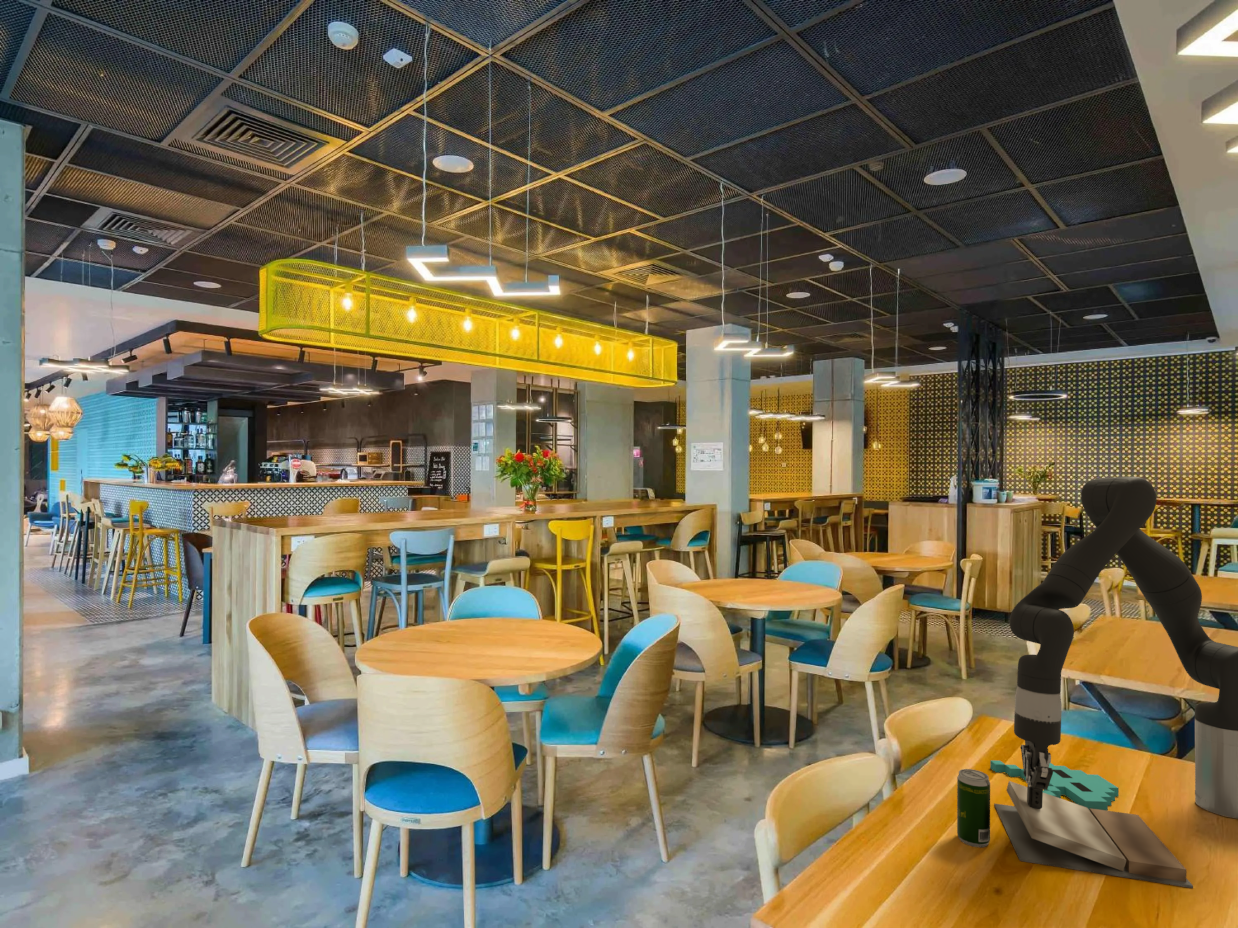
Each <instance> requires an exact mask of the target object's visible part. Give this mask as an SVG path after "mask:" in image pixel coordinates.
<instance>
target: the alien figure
mask: <svg viewBox="0 0 1238 928" xmlns="http://www.w3.org/2000/svg"><path fill="white" fill-rule="evenodd" d="M989 766H990V770H992V771H993V772H994V771H995V772H994V773H1002V772H1005V773H1004V774H1006V773H1007V774H1006V775H1008V776H1009V777H1010V778H1011V777H1013V778H1021V779H1023V780H1024V781H1025V782H1026V777H1025V776H1024V773H1023V772H1024V770H1023V768H1020V767H1019V766H1017V764H1006V763H1004V762H1003V761H1001V760H996V759H995V760H994V759H993V760H990V765H989ZM1049 768H1052V770H1053V775H1052V777H1051V780H1050V783H1049V786H1048V788H1047V790H1045V789H1043V793H1046V794H1049V795H1052V796H1055V797H1057V798H1060V799H1062V798H1061V797H1062V796H1065V797H1067V798H1068V799H1069V800H1071V802H1072V801H1073V803H1075V804H1078V805H1081V806H1084V807H1087V808H1088V809H1089V811H1090V808H1091V809H1099V810H1106V811H1109V806H1111V807H1112V802H1115V801H1116V797H1119V794H1120V793H1119V790H1120V789H1119V787H1118V786H1116V785H1115V784H1113V783H1111V782H1110V781H1108V780H1107V779H1106V778H1104V777H1102V776H1100V775H1099V774H1090V773H1089V774H1088V773H1086V772H1084V771H1083V770H1082V769H1070V768H1068V767H1067V766H1065V765H1054V764H1053V763H1052V762H1051V763H1050V764H1049Z"/></svg>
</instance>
